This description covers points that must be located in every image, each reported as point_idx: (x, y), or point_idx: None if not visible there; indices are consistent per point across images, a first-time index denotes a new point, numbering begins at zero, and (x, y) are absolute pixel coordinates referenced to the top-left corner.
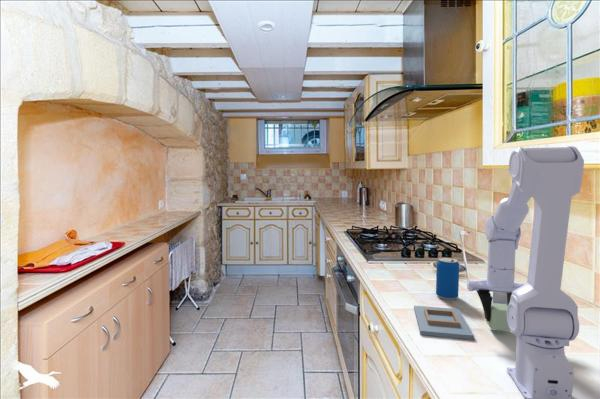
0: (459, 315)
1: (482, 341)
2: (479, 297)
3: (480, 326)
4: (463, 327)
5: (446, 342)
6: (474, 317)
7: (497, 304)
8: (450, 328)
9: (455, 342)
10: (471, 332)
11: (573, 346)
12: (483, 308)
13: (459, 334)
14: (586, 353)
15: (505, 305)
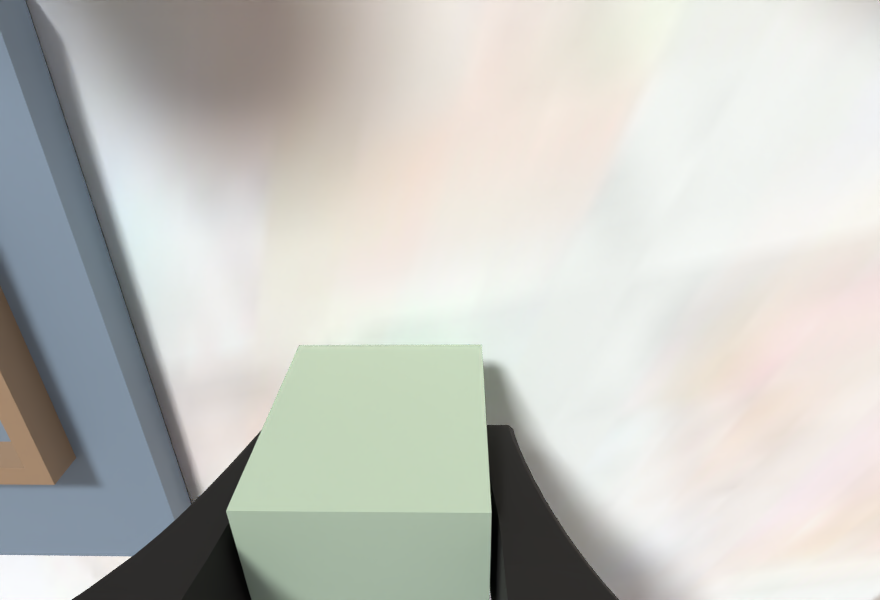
0: (31, 216)
1: None
2: (79, 598)
3: (263, 325)
4: (105, 461)
5: (38, 578)
6: (217, 109)
7: (364, 543)
8: (11, 492)
9: (90, 570)
10: (169, 523)
11: (868, 503)
12: (208, 496)
13: (90, 553)
14: (874, 564)
15: (464, 558)
